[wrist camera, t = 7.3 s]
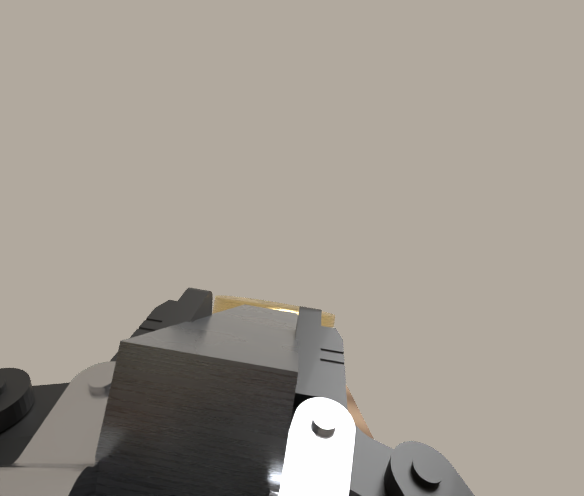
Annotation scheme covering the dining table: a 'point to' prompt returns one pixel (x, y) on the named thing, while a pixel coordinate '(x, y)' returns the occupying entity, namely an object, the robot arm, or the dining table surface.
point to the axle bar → (203, 404)
